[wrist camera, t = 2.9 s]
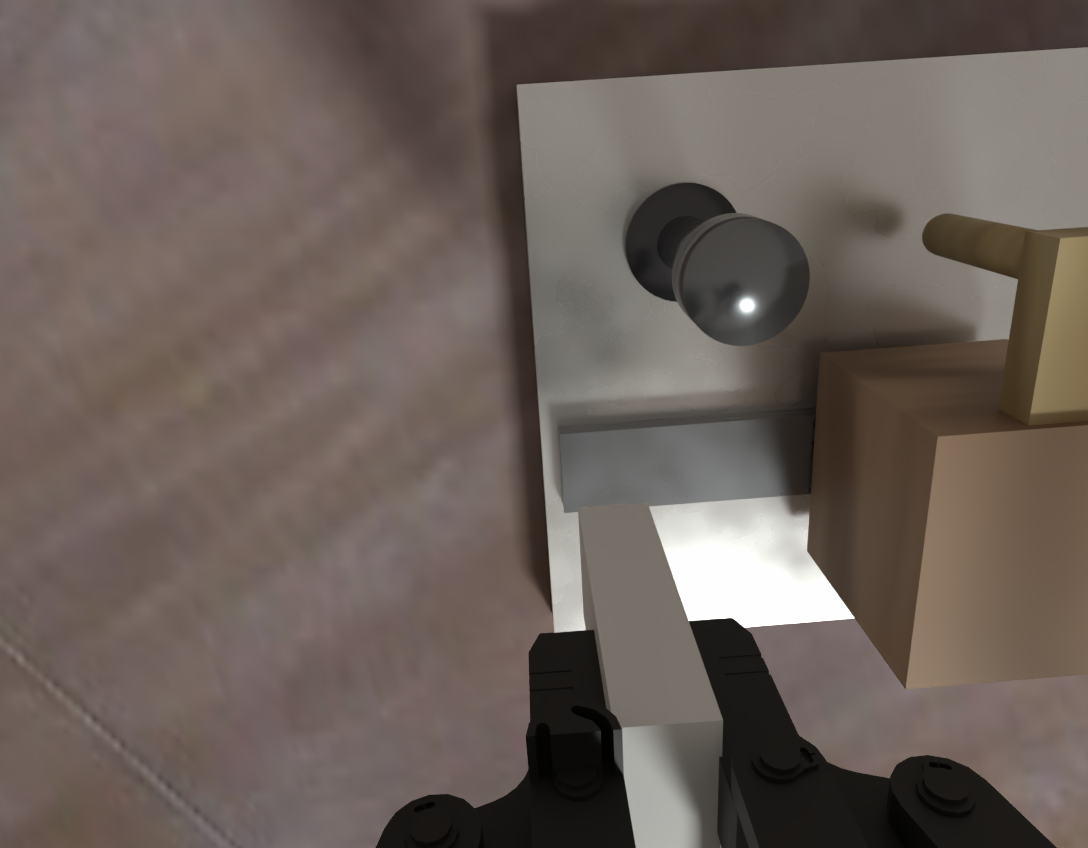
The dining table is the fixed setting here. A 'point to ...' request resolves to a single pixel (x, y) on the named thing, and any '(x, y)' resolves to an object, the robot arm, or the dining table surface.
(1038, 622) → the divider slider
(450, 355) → the dining table surface
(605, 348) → the bolt plate
